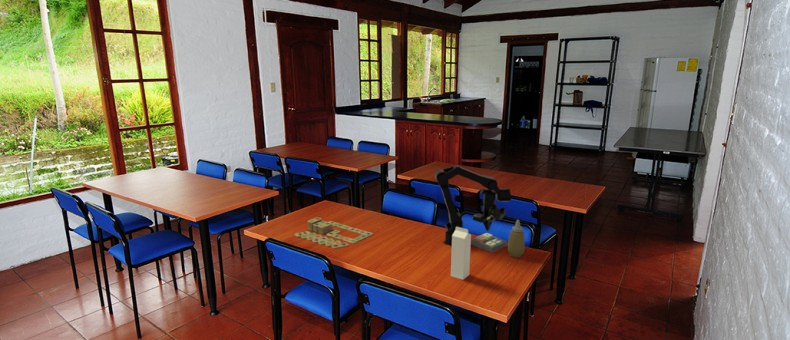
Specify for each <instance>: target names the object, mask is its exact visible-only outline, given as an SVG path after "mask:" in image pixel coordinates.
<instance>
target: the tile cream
mask: <svg viewBox="0 0 790 340" xmlns="http://www.w3.org/2000/svg"><path fill="white" fill-rule="evenodd" d="M485 244H486V245H489V246H494V245H496V243H493V242H491V241H489V242H487V243H485Z"/></svg>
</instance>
